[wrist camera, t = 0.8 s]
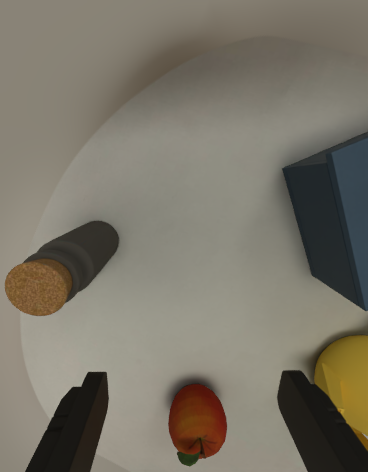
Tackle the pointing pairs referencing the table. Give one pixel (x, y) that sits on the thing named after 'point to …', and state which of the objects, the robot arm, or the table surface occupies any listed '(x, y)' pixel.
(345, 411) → the teapot
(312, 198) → the cool box
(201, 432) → the fruit
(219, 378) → the table surface
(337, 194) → the cool box lid
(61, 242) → the bottle
